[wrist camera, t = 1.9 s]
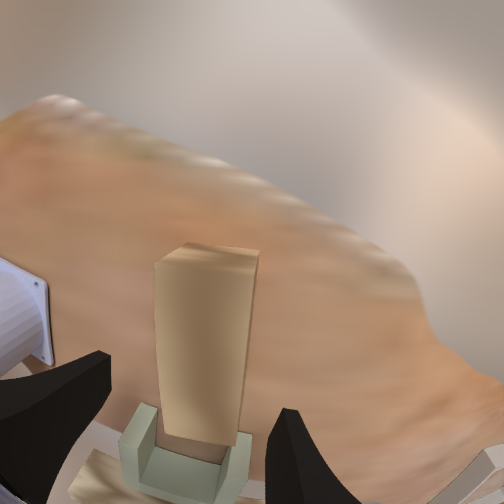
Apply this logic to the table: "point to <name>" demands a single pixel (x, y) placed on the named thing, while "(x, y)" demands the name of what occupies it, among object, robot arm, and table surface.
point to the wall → (114, 485)
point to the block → (179, 466)
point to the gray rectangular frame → (475, 479)
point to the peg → (203, 338)
